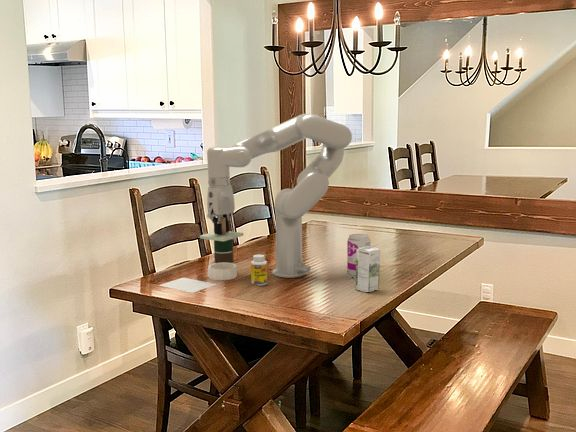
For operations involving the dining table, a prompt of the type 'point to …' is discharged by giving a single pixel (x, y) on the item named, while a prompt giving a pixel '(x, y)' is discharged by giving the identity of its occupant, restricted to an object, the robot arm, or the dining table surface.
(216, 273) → the bowl
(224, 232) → the lid
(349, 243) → the supplement can
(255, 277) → the supplement bottle
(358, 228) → the dining table surface
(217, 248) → the beer bottle
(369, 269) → the syrup box
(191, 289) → the mat
